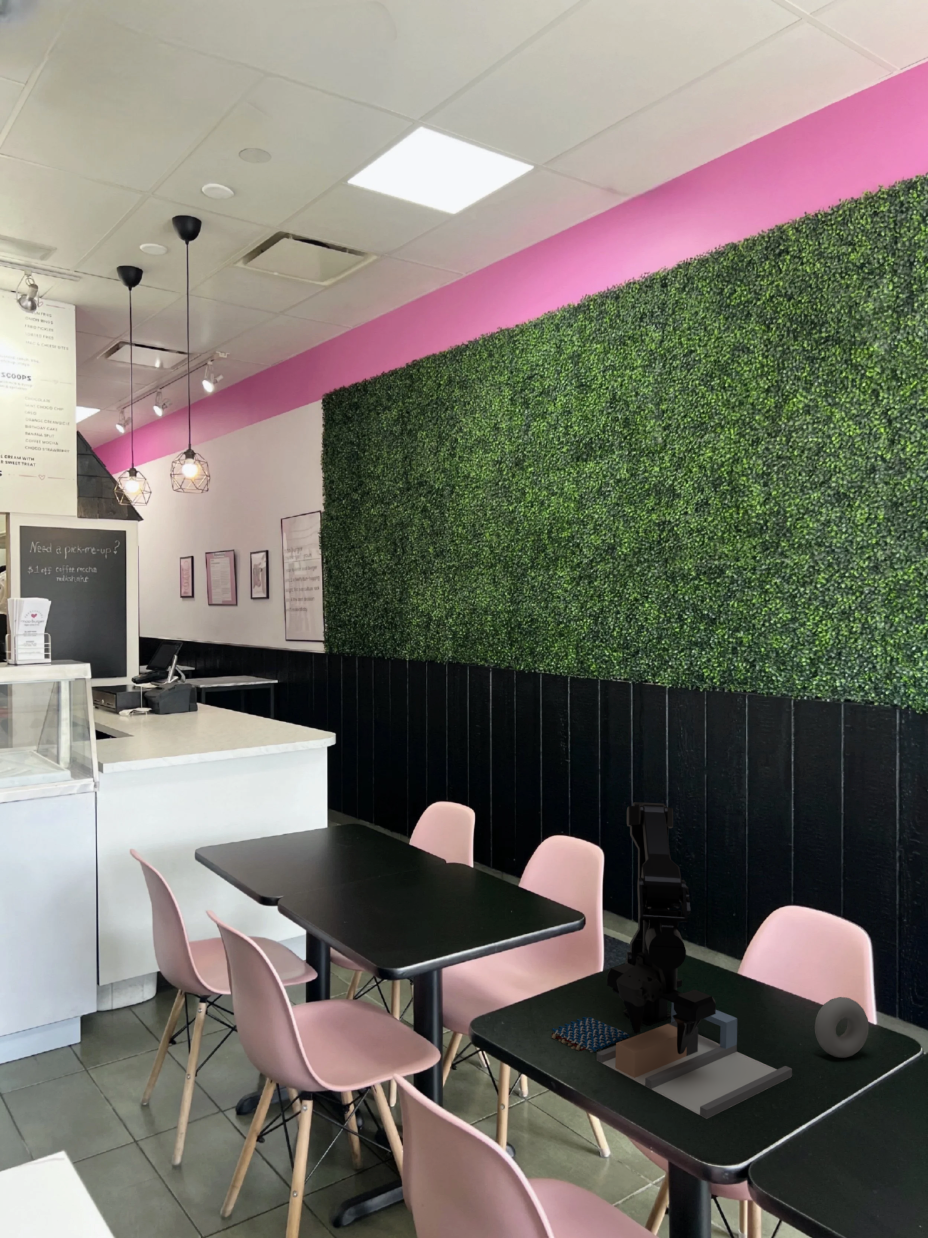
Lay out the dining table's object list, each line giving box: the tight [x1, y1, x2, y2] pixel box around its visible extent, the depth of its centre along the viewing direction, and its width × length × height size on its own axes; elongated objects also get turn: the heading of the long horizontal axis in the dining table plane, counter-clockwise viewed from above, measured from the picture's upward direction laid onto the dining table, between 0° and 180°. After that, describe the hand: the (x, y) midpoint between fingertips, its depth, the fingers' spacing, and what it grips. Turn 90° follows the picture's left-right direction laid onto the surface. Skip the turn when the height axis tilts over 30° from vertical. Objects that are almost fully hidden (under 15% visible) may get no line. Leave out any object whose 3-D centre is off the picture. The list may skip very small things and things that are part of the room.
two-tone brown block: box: [615, 1021, 699, 1078], centre depth 148 cm, size 4×16×4 cm, turn 128°
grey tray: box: [596, 1002, 793, 1120], centre depth 146 cm, size 22×22×6 cm
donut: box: [814, 996, 870, 1059], centre depth 153 cm, size 10×3×10 cm, turn 105°
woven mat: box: [551, 1016, 630, 1053], centre depth 157 cm, size 10×11×2 cm
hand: (658, 1043), depth 148 cm, fingers open, 9 cm apart
